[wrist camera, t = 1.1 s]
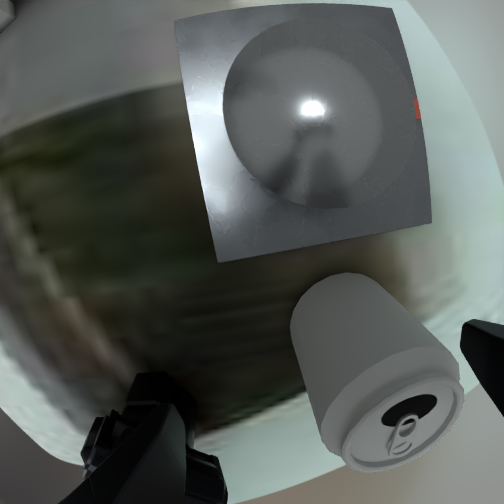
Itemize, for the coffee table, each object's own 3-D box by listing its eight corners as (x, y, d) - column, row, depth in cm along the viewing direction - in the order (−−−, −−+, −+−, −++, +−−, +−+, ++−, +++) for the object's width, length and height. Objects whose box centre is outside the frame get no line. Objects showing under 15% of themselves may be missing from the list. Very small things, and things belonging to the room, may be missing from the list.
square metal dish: (424, 220, 20) (452, 230, 17) (218, 258, 20) (215, 276, 17) (386, 13, 16) (407, -6, 13) (176, 26, 16) (166, 3, 13)
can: (389, 265, 21) (498, 351, 10) (375, 352, 23) (445, 459, 12) (289, 270, 21) (344, 387, 9) (286, 362, 23) (317, 494, 11)
